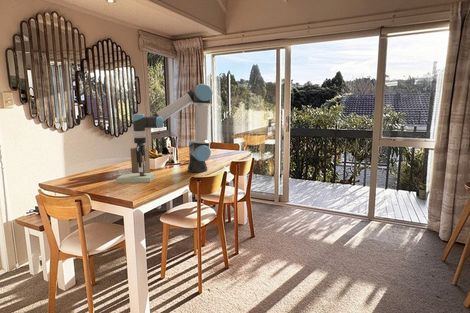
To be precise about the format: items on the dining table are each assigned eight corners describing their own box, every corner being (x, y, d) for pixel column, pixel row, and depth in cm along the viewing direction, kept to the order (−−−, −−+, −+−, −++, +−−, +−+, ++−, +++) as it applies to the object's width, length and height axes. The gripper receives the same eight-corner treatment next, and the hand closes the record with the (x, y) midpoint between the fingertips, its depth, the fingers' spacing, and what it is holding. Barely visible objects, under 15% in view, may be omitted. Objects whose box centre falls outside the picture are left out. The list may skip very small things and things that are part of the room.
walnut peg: (145, 175, 207) (144, 155, 204) (144, 177, 202) (143, 156, 200) (139, 175, 206) (138, 155, 204) (138, 177, 202) (136, 156, 200)
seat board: (155, 177, 212) (155, 172, 211) (150, 182, 198) (149, 177, 198) (124, 177, 212) (123, 173, 211) (116, 182, 198) (116, 178, 197)
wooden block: (144, 175, 217) (142, 148, 213) (131, 175, 219) (129, 148, 215) (150, 172, 226) (149, 146, 223) (138, 171, 228) (136, 146, 225)
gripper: (138, 135, 208) (140, 168, 212) (129, 138, 191) (132, 174, 195) (148, 135, 208) (150, 168, 212) (141, 138, 191) (143, 174, 195)
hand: (141, 171), depth 204 cm, fingers closed on walnut peg, 4 cm apart
